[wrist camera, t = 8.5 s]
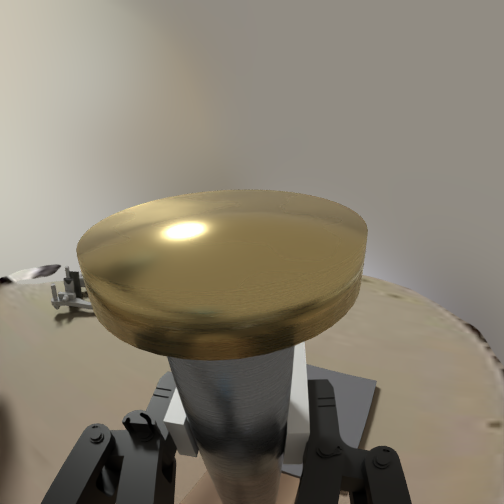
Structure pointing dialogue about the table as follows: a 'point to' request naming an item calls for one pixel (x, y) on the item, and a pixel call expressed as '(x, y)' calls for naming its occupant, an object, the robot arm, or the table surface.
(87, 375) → the table surface
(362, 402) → the mat
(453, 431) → the table surface
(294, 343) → the brass topped pillar
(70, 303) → the bike brake
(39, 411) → the table surface
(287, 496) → the eye block
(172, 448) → the robot arm
